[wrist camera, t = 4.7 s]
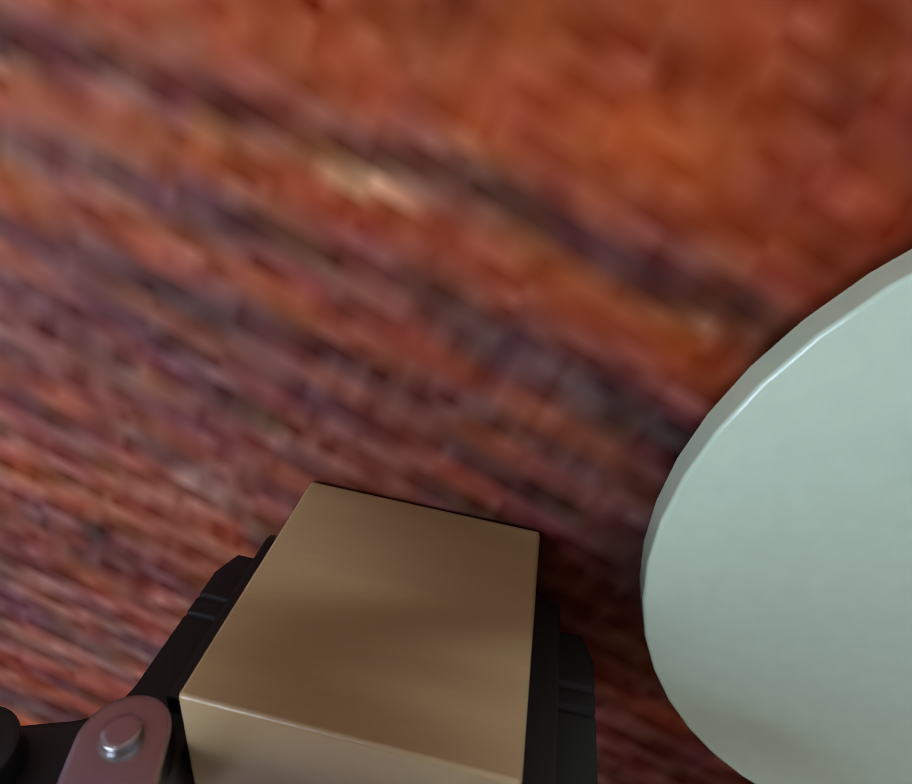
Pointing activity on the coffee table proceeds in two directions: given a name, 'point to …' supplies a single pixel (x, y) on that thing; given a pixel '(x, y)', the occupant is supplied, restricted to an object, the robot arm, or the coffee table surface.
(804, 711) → the lid
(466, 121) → the coffee table surface
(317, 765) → the block
